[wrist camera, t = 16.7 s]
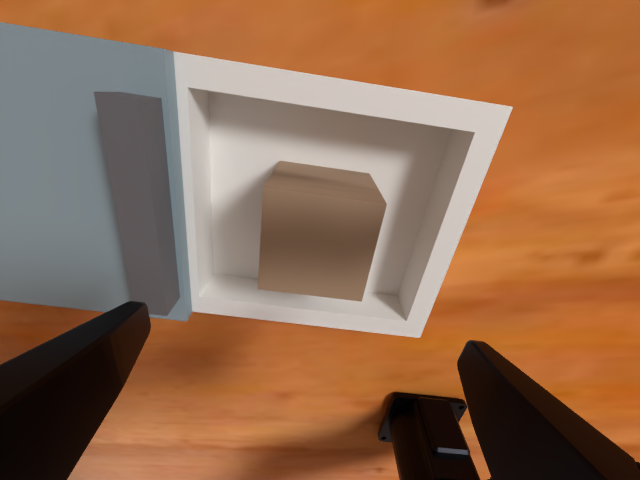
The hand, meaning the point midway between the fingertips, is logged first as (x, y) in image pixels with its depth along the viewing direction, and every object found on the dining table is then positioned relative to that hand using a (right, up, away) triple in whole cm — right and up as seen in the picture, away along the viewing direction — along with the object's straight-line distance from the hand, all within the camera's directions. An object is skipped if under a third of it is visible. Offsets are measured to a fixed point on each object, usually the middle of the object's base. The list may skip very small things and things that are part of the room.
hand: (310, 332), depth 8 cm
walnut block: (0, +4, +9) cm, 10 cm away
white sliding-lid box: (-7, +6, +9) cm, 13 cm away
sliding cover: (-14, +5, +6) cm, 16 cm away
